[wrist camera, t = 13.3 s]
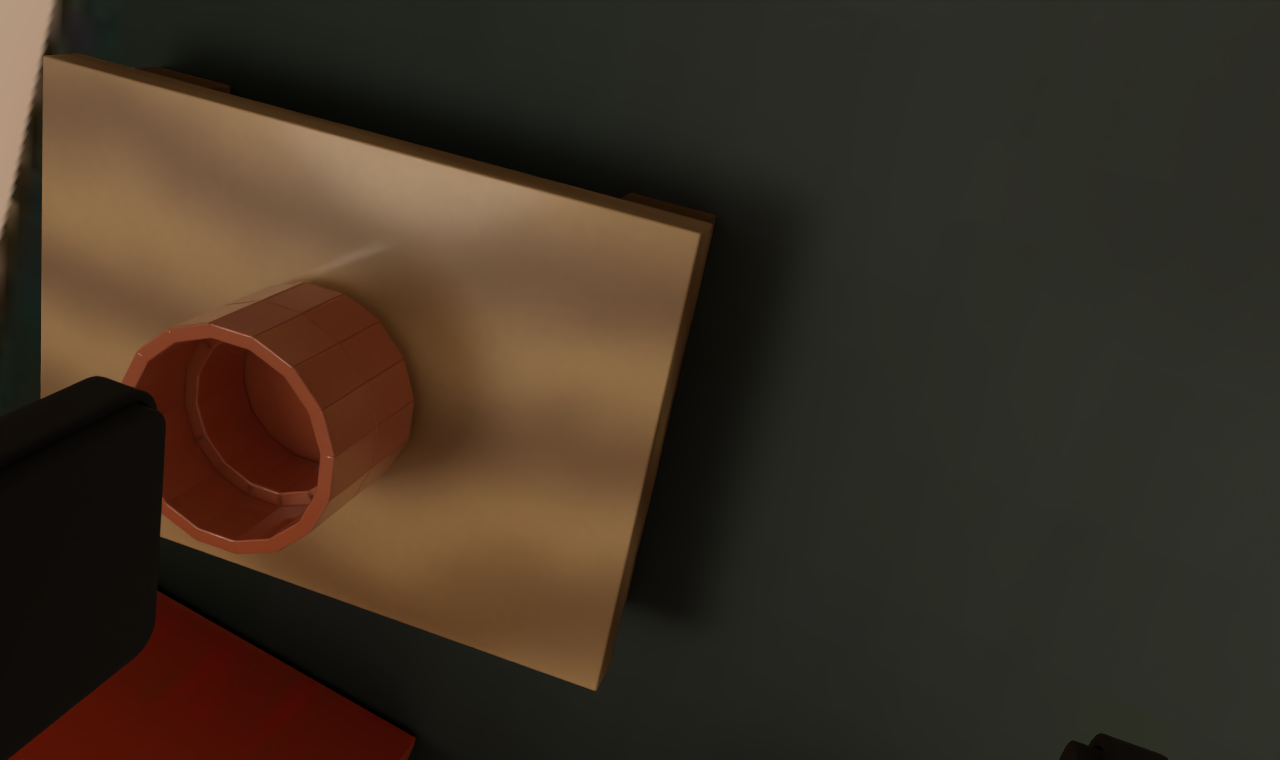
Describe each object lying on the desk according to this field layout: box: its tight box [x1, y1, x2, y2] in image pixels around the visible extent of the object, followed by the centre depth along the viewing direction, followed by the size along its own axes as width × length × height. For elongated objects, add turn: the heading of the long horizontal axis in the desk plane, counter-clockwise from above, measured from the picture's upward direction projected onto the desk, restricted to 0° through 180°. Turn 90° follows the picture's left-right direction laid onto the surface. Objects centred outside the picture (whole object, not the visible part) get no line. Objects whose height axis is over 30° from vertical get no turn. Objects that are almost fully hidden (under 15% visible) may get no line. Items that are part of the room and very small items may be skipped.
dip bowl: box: [121, 282, 414, 554], centre depth 34 cm, size 7×7×6 cm
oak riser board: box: [41, 53, 716, 691], centre depth 39 cm, size 16×22×5 cm
